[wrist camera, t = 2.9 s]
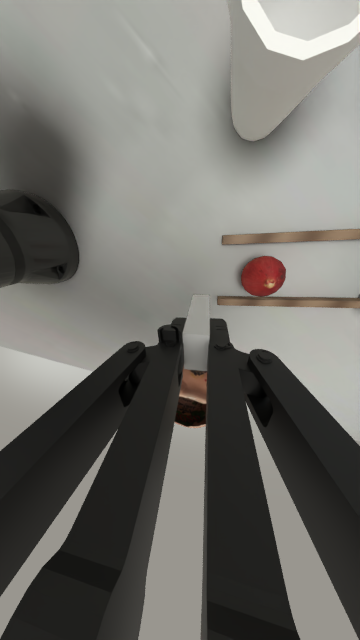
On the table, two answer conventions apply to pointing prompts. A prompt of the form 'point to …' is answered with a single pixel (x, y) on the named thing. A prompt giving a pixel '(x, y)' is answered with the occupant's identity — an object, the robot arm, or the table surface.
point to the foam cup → (284, 55)
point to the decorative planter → (192, 399)
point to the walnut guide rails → (291, 300)
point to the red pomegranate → (263, 276)
